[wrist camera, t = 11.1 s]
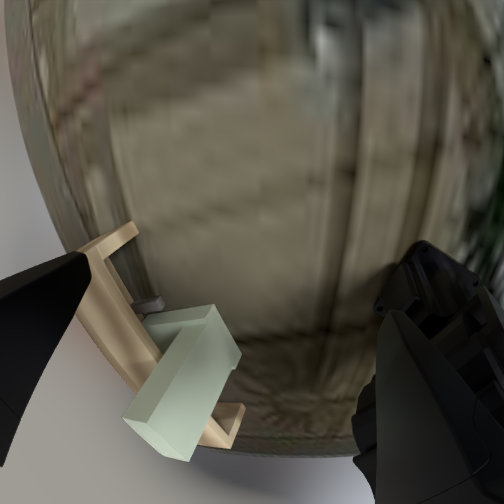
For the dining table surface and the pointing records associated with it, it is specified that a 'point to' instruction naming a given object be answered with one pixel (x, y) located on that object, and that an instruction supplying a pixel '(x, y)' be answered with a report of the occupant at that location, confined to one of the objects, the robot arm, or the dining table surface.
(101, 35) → the dining table surface
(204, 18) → the dining table surface
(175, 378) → the sage green flanged block
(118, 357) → the beige u-shaped channel
